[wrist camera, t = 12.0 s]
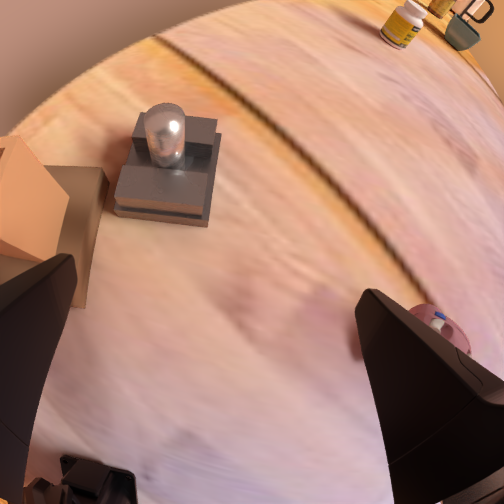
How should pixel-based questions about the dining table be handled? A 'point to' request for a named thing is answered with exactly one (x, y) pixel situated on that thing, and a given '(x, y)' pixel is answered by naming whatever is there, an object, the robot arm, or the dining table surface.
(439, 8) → the sauce bottle
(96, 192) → the walnut block
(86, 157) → the dining table surface
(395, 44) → the supplement bottle
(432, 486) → the robot arm
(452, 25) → the flower pot
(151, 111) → the vise
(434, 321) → the video game controller
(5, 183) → the sleeve
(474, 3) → the coffee press
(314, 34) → the dining table surface
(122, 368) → the dining table surface
